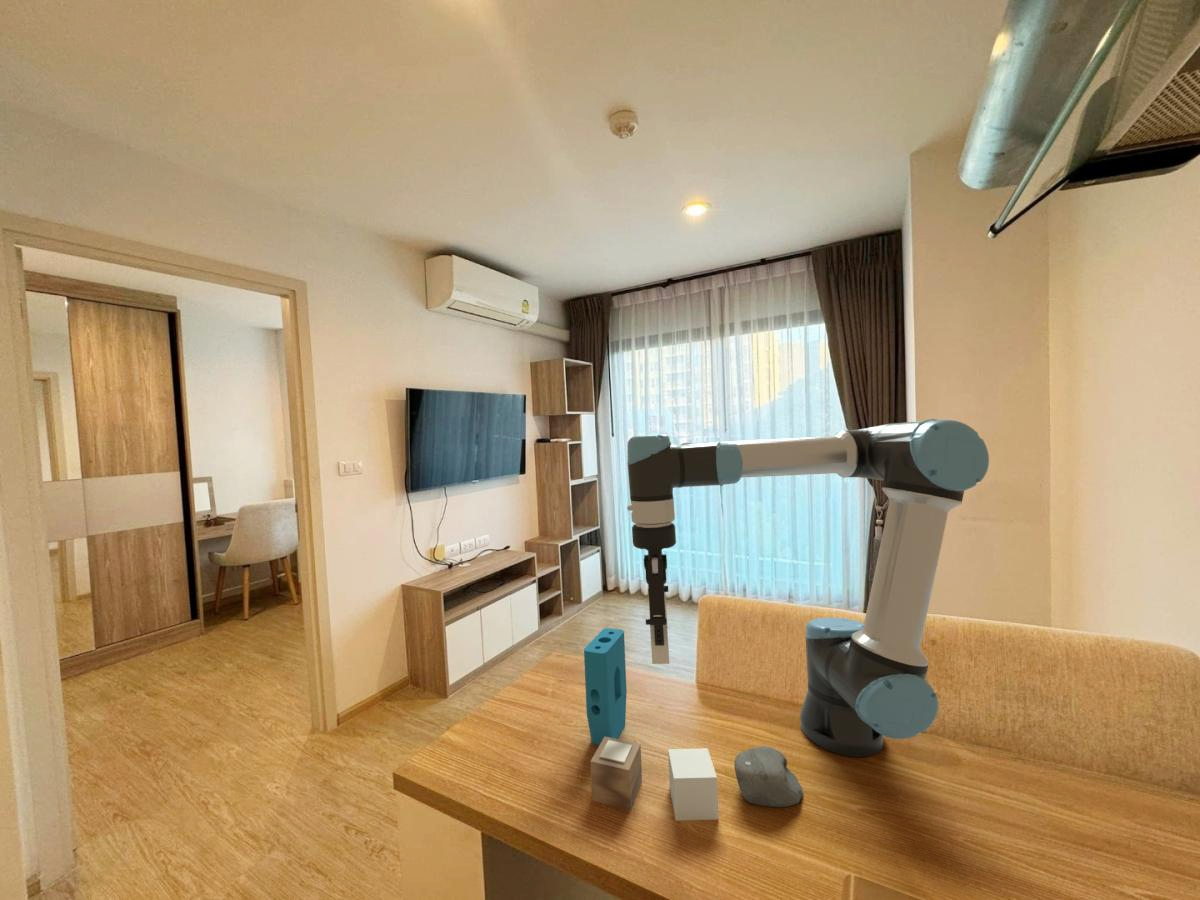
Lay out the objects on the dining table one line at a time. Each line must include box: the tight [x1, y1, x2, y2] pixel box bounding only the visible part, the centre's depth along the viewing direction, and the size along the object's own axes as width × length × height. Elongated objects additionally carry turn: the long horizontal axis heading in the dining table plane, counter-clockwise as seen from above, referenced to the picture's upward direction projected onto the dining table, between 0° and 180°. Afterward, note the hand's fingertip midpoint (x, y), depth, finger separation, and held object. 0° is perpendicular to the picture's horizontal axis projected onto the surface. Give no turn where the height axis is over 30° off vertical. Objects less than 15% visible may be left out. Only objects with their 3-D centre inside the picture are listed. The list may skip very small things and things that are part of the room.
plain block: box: [667, 747, 720, 822], centre depth 77 cm, size 7×7×7 cm
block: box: [583, 627, 628, 746], centre depth 96 cm, size 12×5×20 cm, turn 157°
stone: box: [734, 745, 805, 808], centre depth 78 cm, size 9×9×10 cm
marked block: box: [590, 737, 643, 812], centre depth 80 cm, size 7×7×7 cm
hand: (660, 644), depth 79 cm, fingers open, 13 cm apart
